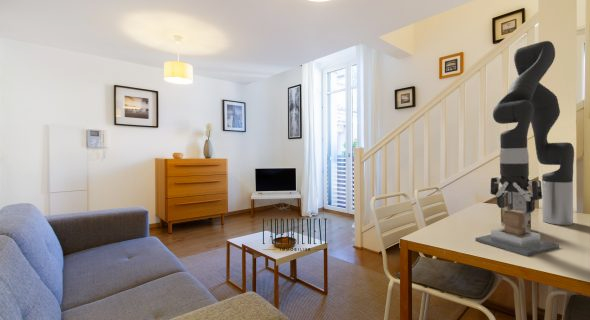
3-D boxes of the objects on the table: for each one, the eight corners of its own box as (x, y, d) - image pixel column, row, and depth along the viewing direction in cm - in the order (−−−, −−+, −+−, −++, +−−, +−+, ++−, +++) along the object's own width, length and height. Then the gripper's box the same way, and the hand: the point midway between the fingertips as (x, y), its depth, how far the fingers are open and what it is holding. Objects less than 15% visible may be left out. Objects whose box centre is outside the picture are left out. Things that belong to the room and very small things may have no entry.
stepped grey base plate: (505, 234, 103) (505, 223, 103) (558, 247, 88) (558, 235, 88) (475, 240, 97) (475, 229, 97) (527, 256, 82) (527, 243, 82)
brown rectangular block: (512, 238, 95) (511, 209, 95) (525, 241, 91) (525, 211, 91) (504, 240, 94) (504, 211, 93) (518, 243, 90) (517, 213, 89)
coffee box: (532, 231, 104) (531, 189, 104) (512, 231, 106) (512, 189, 105) (517, 225, 113) (517, 186, 113) (500, 224, 115) (499, 186, 114)
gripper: (546, 161, 86) (547, 212, 87) (498, 160, 99) (500, 204, 100) (531, 163, 83) (532, 215, 84) (484, 162, 97) (485, 207, 97)
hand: (514, 209), depth 92 cm, fingers open, 8 cm apart
